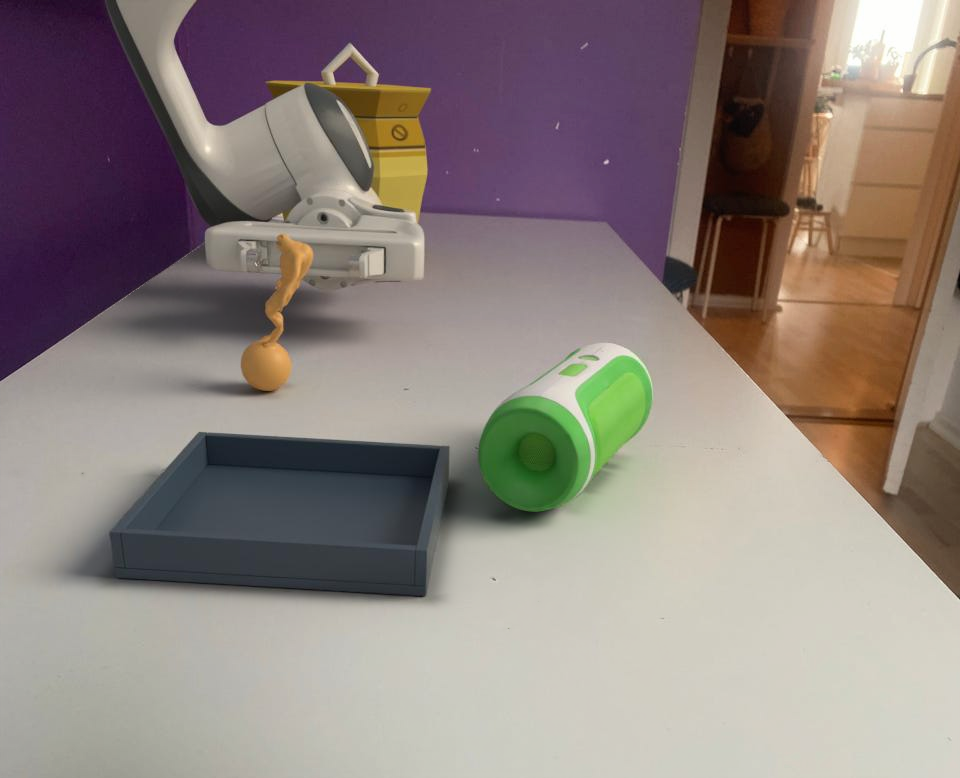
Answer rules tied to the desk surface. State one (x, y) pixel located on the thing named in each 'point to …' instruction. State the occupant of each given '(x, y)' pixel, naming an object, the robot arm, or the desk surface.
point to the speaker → (565, 427)
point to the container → (381, 129)
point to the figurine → (277, 320)
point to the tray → (289, 515)
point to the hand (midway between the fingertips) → (302, 265)
